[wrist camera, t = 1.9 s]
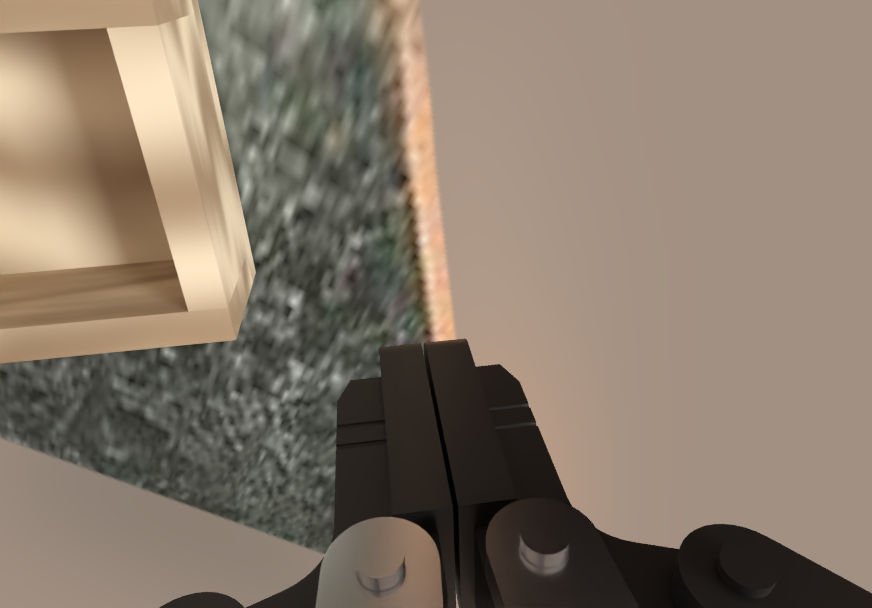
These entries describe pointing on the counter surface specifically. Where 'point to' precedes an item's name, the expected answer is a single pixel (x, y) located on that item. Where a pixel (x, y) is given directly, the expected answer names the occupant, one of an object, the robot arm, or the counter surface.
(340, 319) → the counter surface
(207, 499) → the counter surface
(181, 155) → the open wooden box
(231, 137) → the counter surface
